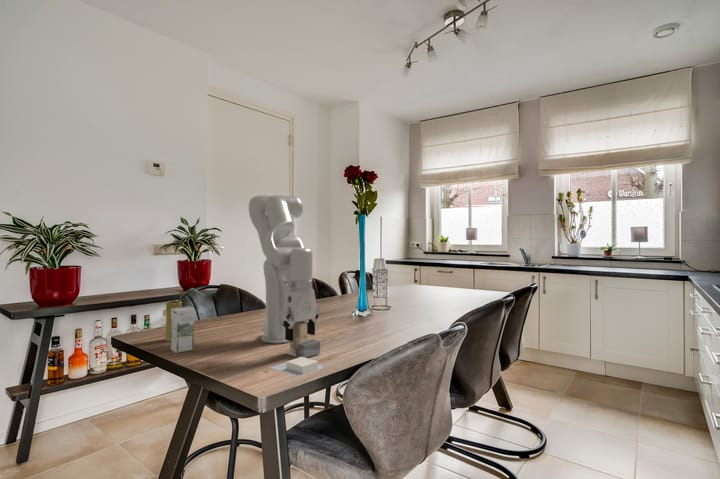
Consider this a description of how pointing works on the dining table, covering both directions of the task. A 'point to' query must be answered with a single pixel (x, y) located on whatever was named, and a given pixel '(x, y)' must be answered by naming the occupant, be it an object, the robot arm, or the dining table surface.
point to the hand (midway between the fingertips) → (300, 337)
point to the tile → (302, 365)
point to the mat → (283, 369)
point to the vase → (168, 317)
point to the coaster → (291, 353)
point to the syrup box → (182, 329)
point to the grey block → (303, 341)
